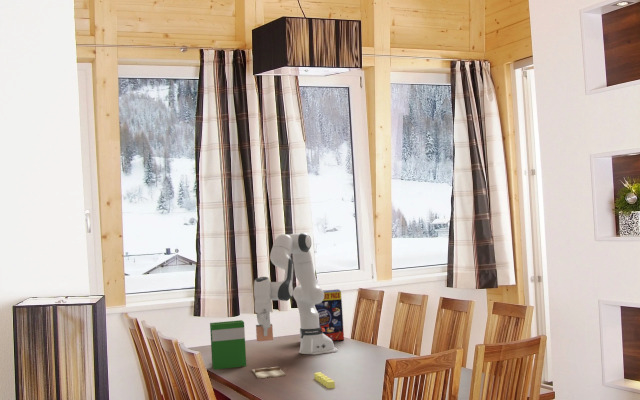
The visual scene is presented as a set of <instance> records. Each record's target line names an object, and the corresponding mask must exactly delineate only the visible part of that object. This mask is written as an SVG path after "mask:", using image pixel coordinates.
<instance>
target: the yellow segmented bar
mask: <svg viewBox="0 0 640 400" xmlns="http://www.w3.org/2000/svg"><path fill="white" fill-rule="evenodd" d="M313 376H314V377H313V379H314V380H316V381H317V382H318V383H320V384H321V385H323V386H324V387H326V388H327V389H333V388H334V389H335V388H336V387H335V386H336V383H335V382H336V381H335V380H334V379H332V378H330V377H328V376H327V375H325V374H324V373H322V372H321V371H318V372H314V373H313Z"/></svg>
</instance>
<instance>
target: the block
mask: <svg viewBox="0 0 640 400" xmlns="http://www.w3.org/2000/svg"><path fill="white" fill-rule="evenodd" d="M263 332H264V330H263V327H262V326H261V325H259V324H255V333H256V334H255V337H256V342H267V341H273V340H274V331H273V324H272V323H270V328H268V331H267V336H264V333H263Z"/></svg>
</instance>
